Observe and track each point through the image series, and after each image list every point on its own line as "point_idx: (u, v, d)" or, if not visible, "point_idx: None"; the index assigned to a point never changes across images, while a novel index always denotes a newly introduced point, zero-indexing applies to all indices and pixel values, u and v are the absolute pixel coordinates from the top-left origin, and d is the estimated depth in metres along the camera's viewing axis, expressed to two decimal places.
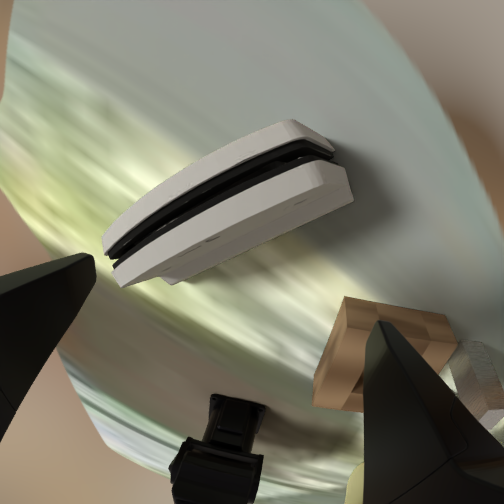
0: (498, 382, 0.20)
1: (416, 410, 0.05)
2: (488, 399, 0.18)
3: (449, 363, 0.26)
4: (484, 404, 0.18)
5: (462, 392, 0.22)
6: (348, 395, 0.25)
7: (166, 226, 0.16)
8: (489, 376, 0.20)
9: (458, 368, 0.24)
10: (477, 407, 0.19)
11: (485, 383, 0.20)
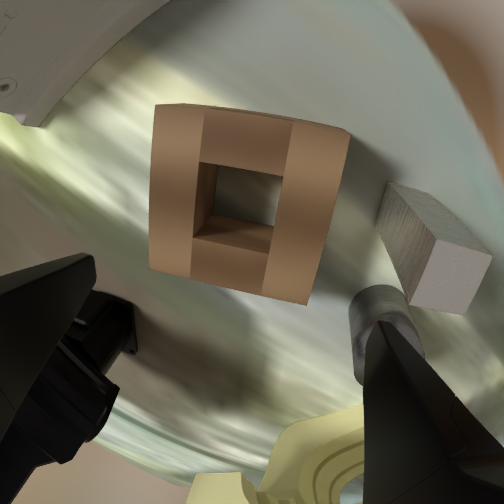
0: (458, 224, 0.13)
1: (416, 410, 0.05)
2: (435, 229, 0.11)
3: (377, 224, 0.19)
4: (427, 236, 0.11)
5: (394, 248, 0.15)
6: (191, 244, 0.18)
7: None
8: (438, 214, 0.14)
9: (387, 219, 0.17)
10: (418, 251, 0.12)
11: (430, 216, 0.13)
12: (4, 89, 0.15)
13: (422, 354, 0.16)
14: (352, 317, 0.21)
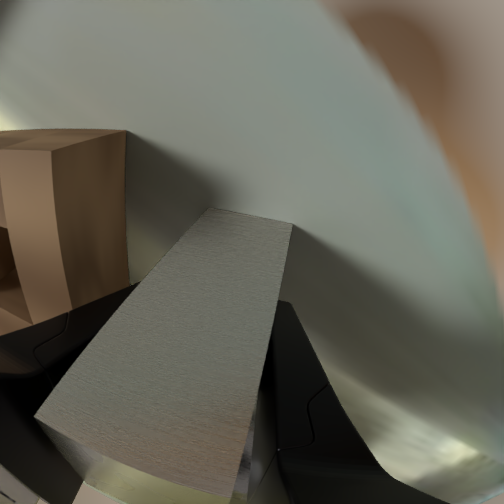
0: (255, 331, 0.06)
1: (272, 391, 0.05)
2: (91, 374, 0.04)
3: None
4: (64, 389, 0.04)
5: None
6: None
7: None
8: (213, 300, 0.07)
9: None
10: None
11: (159, 315, 0.06)
12: None
13: None
14: None
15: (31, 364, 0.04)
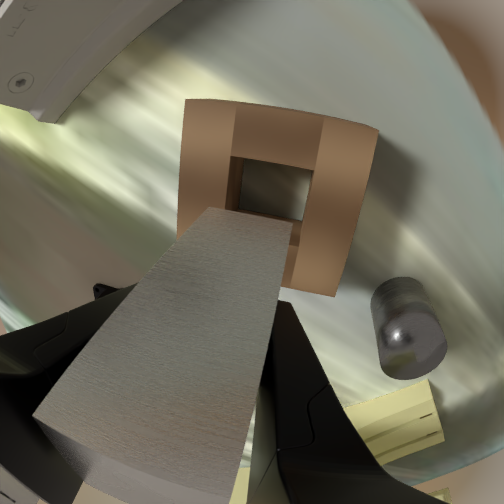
0: (255, 329, 0.06)
1: (271, 392, 0.05)
2: (90, 372, 0.04)
3: None
4: (63, 388, 0.04)
5: None
6: None
7: None
8: (214, 299, 0.07)
9: None
10: None
11: (158, 313, 0.06)
12: (20, 84, 0.16)
13: (445, 343, 0.16)
14: (375, 309, 0.21)
15: (31, 364, 0.04)
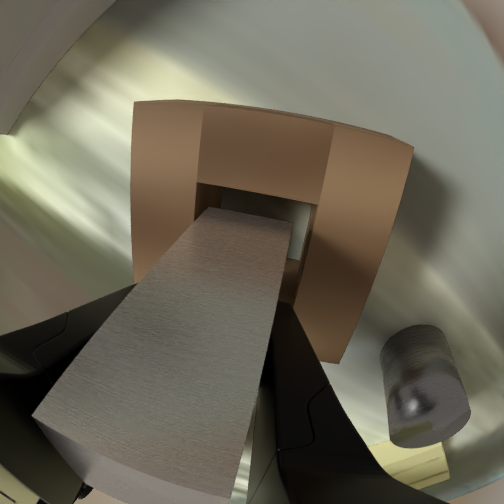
0: (255, 330, 0.06)
1: (272, 391, 0.05)
2: (90, 373, 0.04)
3: None
4: (62, 388, 0.04)
5: None
6: None
7: None
8: (213, 299, 0.06)
9: None
10: None
11: (158, 313, 0.06)
12: None
13: (468, 412, 0.12)
14: (387, 365, 0.16)
15: (31, 364, 0.04)
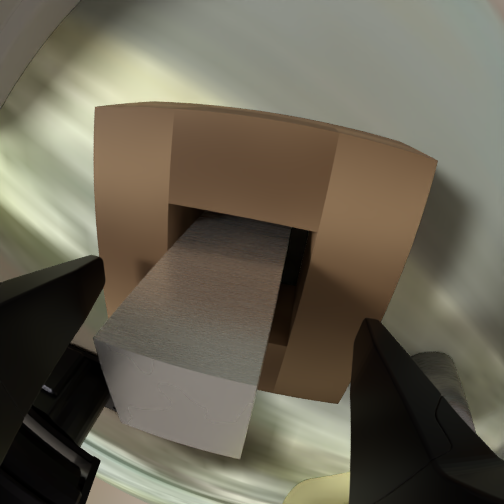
0: (268, 276, 0.08)
1: (400, 409, 0.05)
2: (141, 305, 0.06)
3: None
4: (116, 320, 0.06)
5: None
6: None
7: None
8: (234, 256, 0.08)
9: None
10: None
11: (191, 265, 0.08)
12: None
13: None
14: None
15: None
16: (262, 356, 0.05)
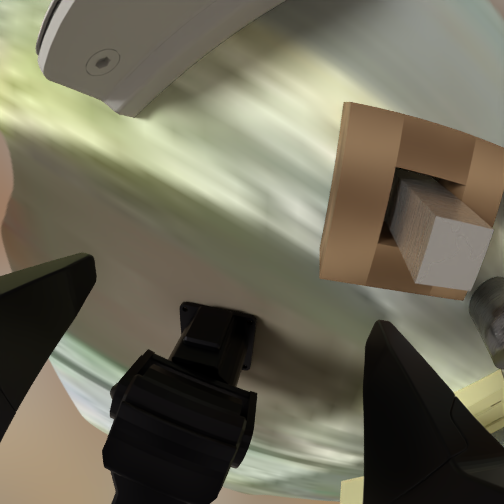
0: (459, 202, 0.13)
1: (416, 410, 0.05)
2: (434, 207, 0.11)
3: None
4: (427, 214, 0.11)
5: (398, 230, 0.15)
6: (374, 250, 0.17)
7: None
8: (439, 194, 0.14)
9: (390, 204, 0.17)
10: (419, 230, 0.12)
11: (430, 196, 0.13)
12: (100, 65, 0.15)
13: None
14: (479, 308, 0.19)
15: None
16: (486, 223, 0.11)
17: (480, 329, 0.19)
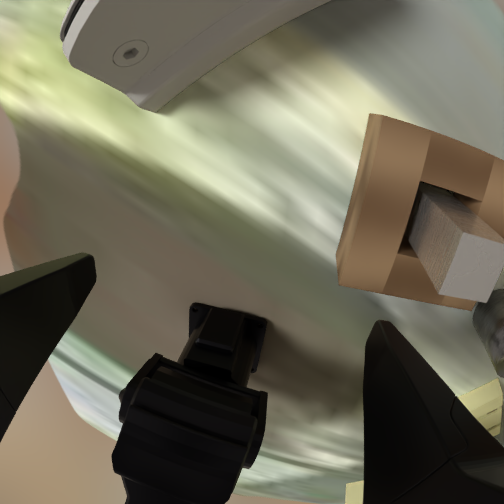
0: (478, 218, 0.13)
1: (416, 410, 0.05)
2: (459, 223, 0.12)
3: None
4: (453, 229, 0.11)
5: (419, 242, 0.15)
6: (393, 259, 0.17)
7: None
8: (459, 209, 0.14)
9: None
10: (444, 244, 0.12)
11: (452, 211, 0.13)
12: (127, 56, 0.14)
13: None
14: (483, 318, 0.20)
15: None
16: None
17: (483, 339, 0.19)
